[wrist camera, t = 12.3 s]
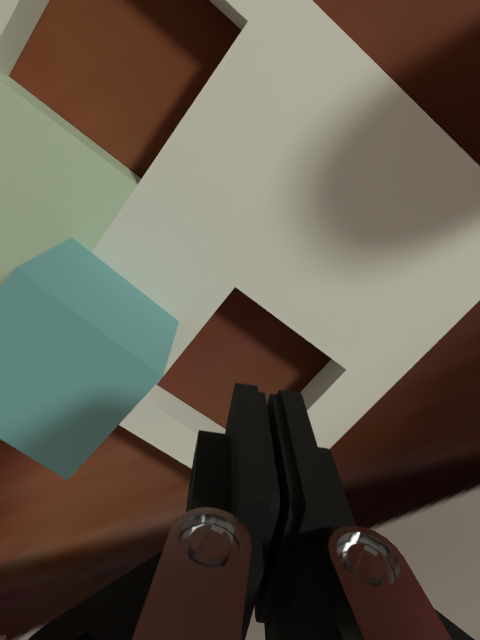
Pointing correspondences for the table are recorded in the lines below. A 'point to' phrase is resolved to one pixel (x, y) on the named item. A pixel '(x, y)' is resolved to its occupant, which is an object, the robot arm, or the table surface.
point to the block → (74, 354)
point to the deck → (263, 209)
